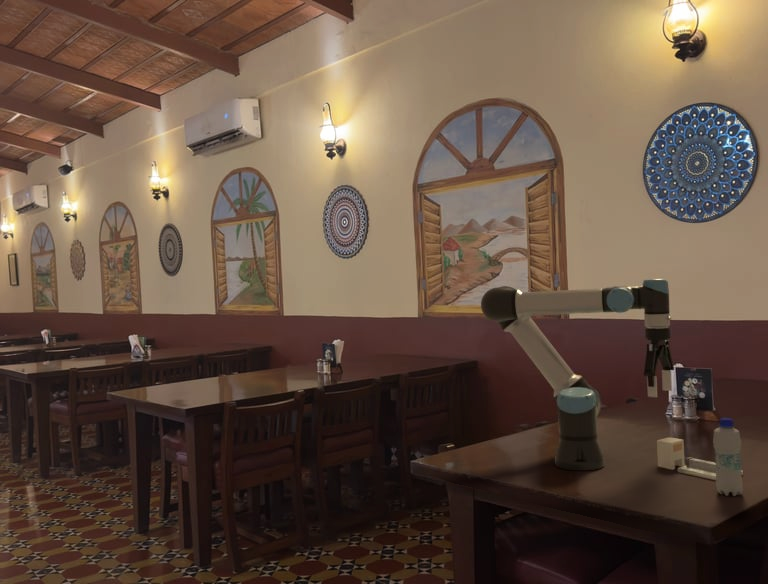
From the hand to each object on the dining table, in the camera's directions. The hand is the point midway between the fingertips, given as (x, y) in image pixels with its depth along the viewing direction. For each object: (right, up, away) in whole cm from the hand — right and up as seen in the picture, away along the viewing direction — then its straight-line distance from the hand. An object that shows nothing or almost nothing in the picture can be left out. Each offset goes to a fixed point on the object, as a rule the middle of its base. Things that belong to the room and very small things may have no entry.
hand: (660, 393), depth 222 cm
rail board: (+7, -20, -20) cm, 29 cm away
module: (-1, -21, -10) cm, 23 cm away
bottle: (+3, -21, -39) cm, 44 cm away
